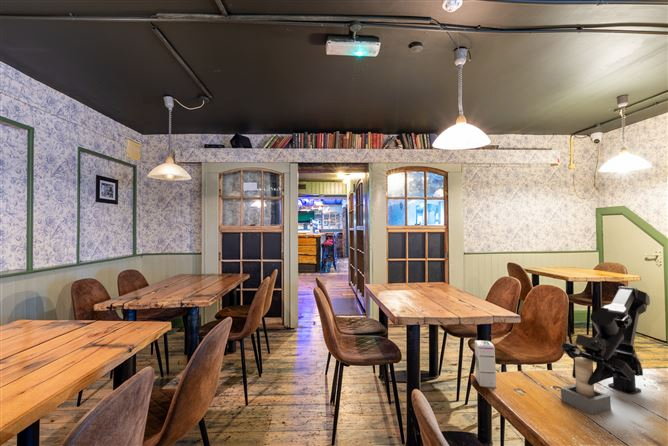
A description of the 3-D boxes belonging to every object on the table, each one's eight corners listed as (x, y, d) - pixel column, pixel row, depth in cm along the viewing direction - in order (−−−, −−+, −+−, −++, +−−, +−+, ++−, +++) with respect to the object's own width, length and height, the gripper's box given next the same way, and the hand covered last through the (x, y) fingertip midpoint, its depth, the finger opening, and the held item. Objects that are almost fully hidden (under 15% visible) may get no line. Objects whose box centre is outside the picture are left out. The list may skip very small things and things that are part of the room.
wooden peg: (582, 396, 101) (580, 356, 102) (598, 403, 97) (596, 361, 97) (572, 399, 100) (571, 358, 100) (588, 406, 95) (586, 363, 96)
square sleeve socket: (579, 395, 104) (579, 383, 104) (610, 409, 96) (610, 395, 96) (561, 400, 101) (560, 387, 101) (591, 414, 92) (591, 401, 93)
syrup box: (497, 388, 109) (495, 346, 110) (478, 386, 110) (477, 344, 111) (492, 380, 115) (491, 340, 116) (475, 379, 116) (474, 339, 117)
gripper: (563, 318, 109) (539, 353, 106) (624, 334, 91) (598, 377, 88) (582, 339, 111) (558, 374, 108) (645, 359, 93) (620, 402, 90)
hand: (581, 380), depth 98 cm, fingers closed on wooden peg, 4 cm apart
